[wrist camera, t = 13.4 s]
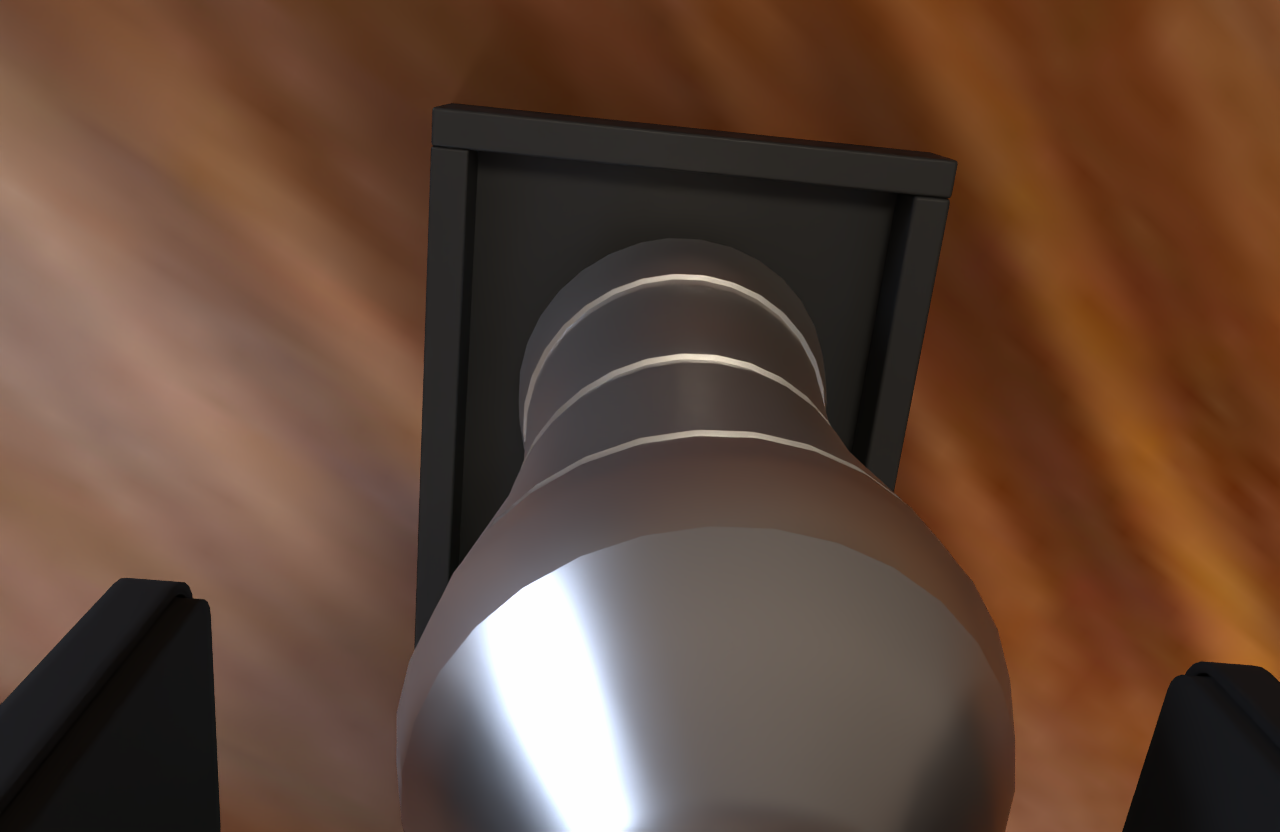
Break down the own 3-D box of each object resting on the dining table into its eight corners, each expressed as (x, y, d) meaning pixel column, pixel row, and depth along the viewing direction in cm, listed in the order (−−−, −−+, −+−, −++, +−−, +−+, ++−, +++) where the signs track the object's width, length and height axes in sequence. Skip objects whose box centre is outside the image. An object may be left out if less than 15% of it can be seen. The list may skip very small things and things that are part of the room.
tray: (449, 102, 23) (432, 106, 21) (932, 152, 24) (959, 161, 22) (412, 1069, 33) (398, 1133, 31) (757, 1092, 33) (765, 1158, 31)
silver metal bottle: (862, 347, 25) (1611, 1288, 6) (667, 536, 26) (752, 1761, 7) (665, 159, 23) (802, 588, 4) (472, 371, 25) (-49, 1364, 6)
